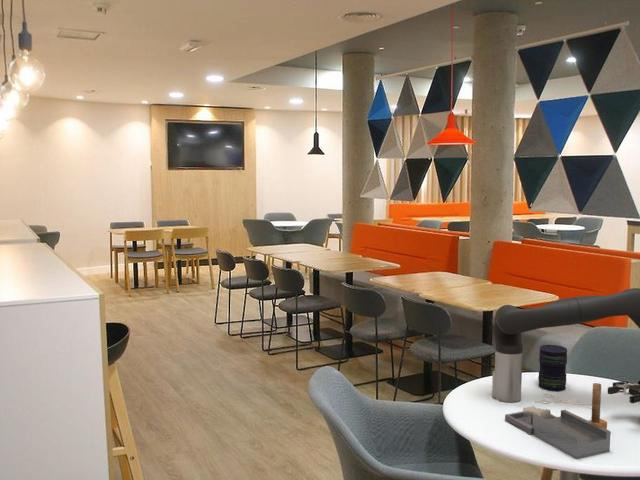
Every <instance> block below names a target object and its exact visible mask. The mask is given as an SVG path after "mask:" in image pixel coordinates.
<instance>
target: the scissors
mask: <svg viewBox="0 0 640 480" xmlns="http://www.w3.org/2000/svg"><path fill="white" fill-rule="evenodd" d="M542 396H543V397H544V398H545V397H546V398H548V399H550V398H551V399H556V400H557V401H551V400H548V399H540V400H538V401H536V400H535V401H534V400H533V403H534V402H535V403H534V404H536V403H540V404H542V405H549V404H552V403H553V404H560V403H561V404H569V405H573V406H578V407H582V408H587V409H590V410H592V407H589V406H591V404H589V403H582V402H581V403H580V402H573V401H568V400H564V399H560V398H559V397H555V396H554V395H553V394H551V393H543V394H542Z"/></svg>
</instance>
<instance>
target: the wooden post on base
mask: <svg viewBox="0 0 640 480" xmlns="http://www.w3.org/2000/svg"><path fill="white" fill-rule="evenodd" d="M601 397H602V384H601V383H600V382H599V383H598V382H593V383H592V397H591V398H592V399H591V408H592V409H591V418H590V420H588V421H590V422H592V423H594V424H596V425H598V426H600V427H602V428H604V429H607V430H608V421H606V420H604V419H602V418H601V404H602V403H601V401H602V400H601V399H602V398H601Z"/></svg>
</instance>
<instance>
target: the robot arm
mask: <svg viewBox="0 0 640 480" xmlns="http://www.w3.org/2000/svg"><path fill="white" fill-rule="evenodd" d="M621 316H627V317H628V318H629V319H631V320H632V322H633V323H634V324H635V325H636V326H637V328H639V329H640V288H638V287H636V288H627V289H624V290H622V291H621V292H617V293H612V294H606V295H586V296H585V295H584V296H573V297H567V298H562V299H557V300H554V301H551V302H549V303H547V304H543V305H542V306H538V307H533V308H518V307H516V306H515V305H512V304H504V305H502V306H499V308H497V310H496V312H495V315H494V344H495V346H494V349H495V354H494V370H493V371H492V384H491V386H492V387H491V389H492V390H491V398H494V399H496V400H498V401H500V402H505V403H506V402H507V403H516V402H520V401H521V400H522V381H523V380H522V379H523V378H522V377H523V375H522V374H523V347H524V346H523V341H522V333H525V332H530V331H534V330H538V329H545V328H555V327H563V326H564V327H565V326H572V325H580V324H586V323H589V322H590V323H591V322H594V321H599V320H602V319H607V318H611V317H612V318H613V317H621ZM627 390H628V392H627ZM607 394H608V395H614V394H623V395H624V396H629V404H636V403H640V380H638V381H637V383H629V381H628V380H622V381H617V382H616V381H615V382H612V386H608V387H607Z"/></svg>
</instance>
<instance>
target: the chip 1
mask: <svg viewBox="0 0 640 480" xmlns="http://www.w3.org/2000/svg"><path fill="white" fill-rule="evenodd" d="M538 409H539V408H537V407H536V406H534V405H531V406H525V407H523V408H522V411H523V420H524V421H526V422H528V423H530V424H533V418H532V412H531V411H533V410H538Z"/></svg>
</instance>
